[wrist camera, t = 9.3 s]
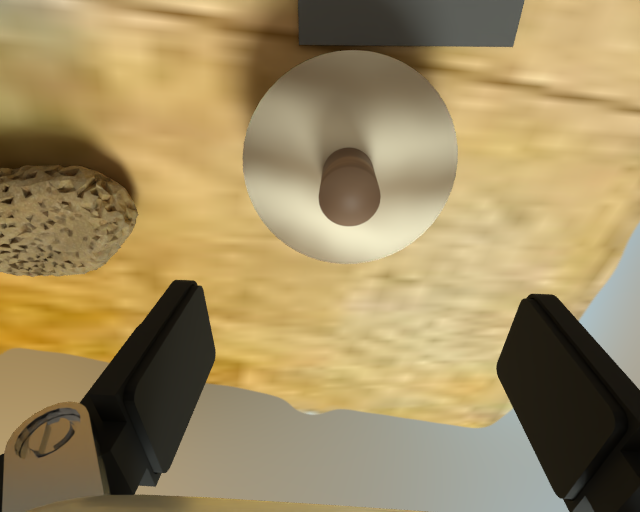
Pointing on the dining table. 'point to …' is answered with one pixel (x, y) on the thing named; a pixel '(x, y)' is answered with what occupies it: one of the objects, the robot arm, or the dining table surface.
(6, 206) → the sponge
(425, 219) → the lid
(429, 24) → the mat
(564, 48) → the dining table surface
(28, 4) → the dining table surface
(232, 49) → the dining table surface
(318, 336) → the dining table surface
